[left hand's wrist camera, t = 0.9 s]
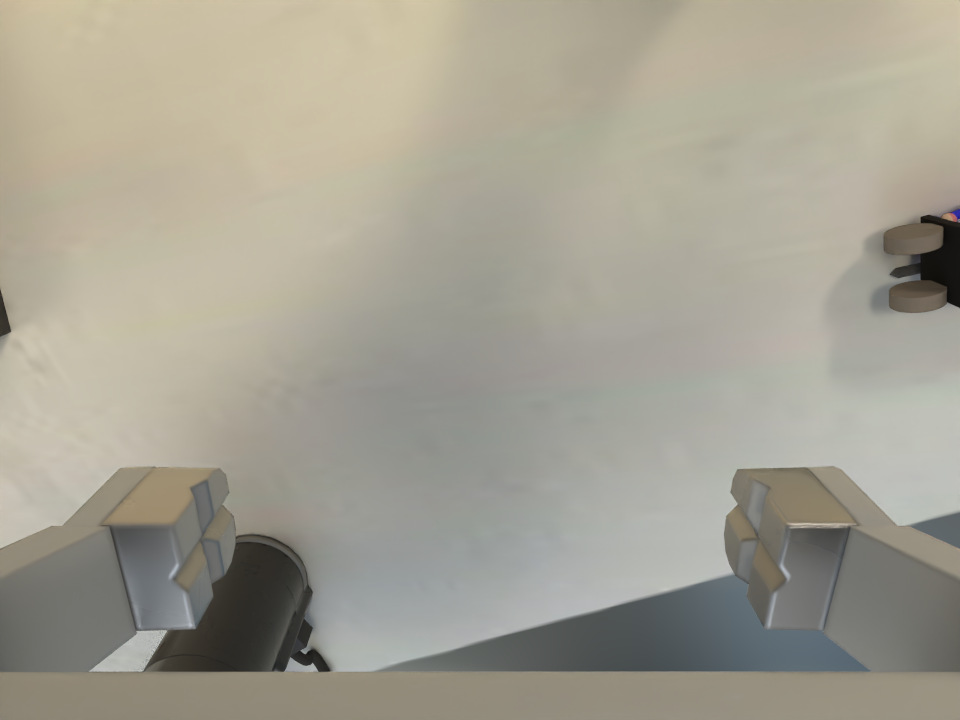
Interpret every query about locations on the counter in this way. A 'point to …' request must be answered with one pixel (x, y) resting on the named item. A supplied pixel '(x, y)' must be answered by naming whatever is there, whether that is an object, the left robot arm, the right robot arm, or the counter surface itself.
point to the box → (3, 319)
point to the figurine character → (927, 263)
